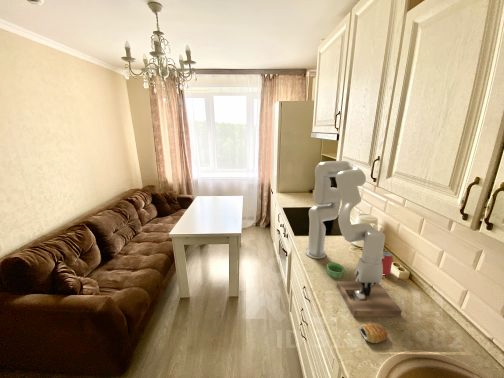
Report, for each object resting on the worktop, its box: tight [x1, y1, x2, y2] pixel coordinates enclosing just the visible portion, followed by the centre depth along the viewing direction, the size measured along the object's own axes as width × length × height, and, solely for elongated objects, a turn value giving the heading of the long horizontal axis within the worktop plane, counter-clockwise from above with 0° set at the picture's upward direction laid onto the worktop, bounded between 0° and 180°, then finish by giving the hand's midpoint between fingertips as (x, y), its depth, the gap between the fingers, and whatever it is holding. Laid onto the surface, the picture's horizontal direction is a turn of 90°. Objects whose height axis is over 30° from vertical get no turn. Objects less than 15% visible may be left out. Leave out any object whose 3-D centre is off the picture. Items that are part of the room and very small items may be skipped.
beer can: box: [382, 250, 394, 277], centre depth 116 cm, size 7×7×12 cm
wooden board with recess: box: [336, 281, 403, 318], centre depth 98 cm, size 18×20×3 cm
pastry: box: [358, 323, 388, 344], centre depth 80 cm, size 9×7×4 cm
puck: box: [353, 290, 365, 301], centre depth 97 cm, size 5×5×3 cm
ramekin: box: [326, 262, 345, 279], centre depth 116 cm, size 9×9×4 cm
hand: (365, 293), depth 97 cm, fingers closed
